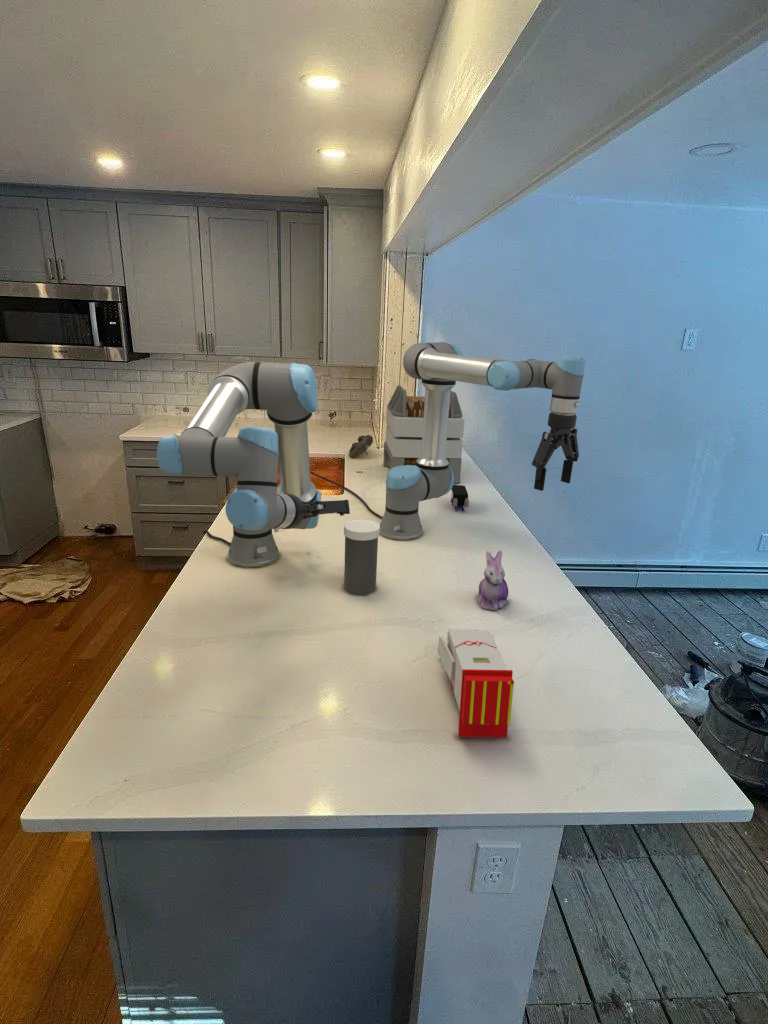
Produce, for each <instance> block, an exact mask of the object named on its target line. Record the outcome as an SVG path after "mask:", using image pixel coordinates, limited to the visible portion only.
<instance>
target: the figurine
mask: <svg viewBox="0 0 768 1024" xmlns="http://www.w3.org/2000/svg"><path fill="white" fill-rule="evenodd" d="M485 556H486V567H485V569H484V572H483V575H484V578H483V579H481V580H480V581H479V583H478V584H479V585H478V594H477V602H478V603H479V604H480V607H481V608H483V609H486V610H490V611H491V610H492V611H495V610H498V609H501V608H503V607H505V605H506V604H507V600H508V597H509V586H508V583H507V581H506V580H505V577H506V572H505V570H504V567H503V565H502V558H503V551H502V550H501V549H500V550H498V551H497V552H496V554H495V557H494V556H493V555H492V553H491V552H490V551H489V550H488V551H486V552H485Z"/></svg>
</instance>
